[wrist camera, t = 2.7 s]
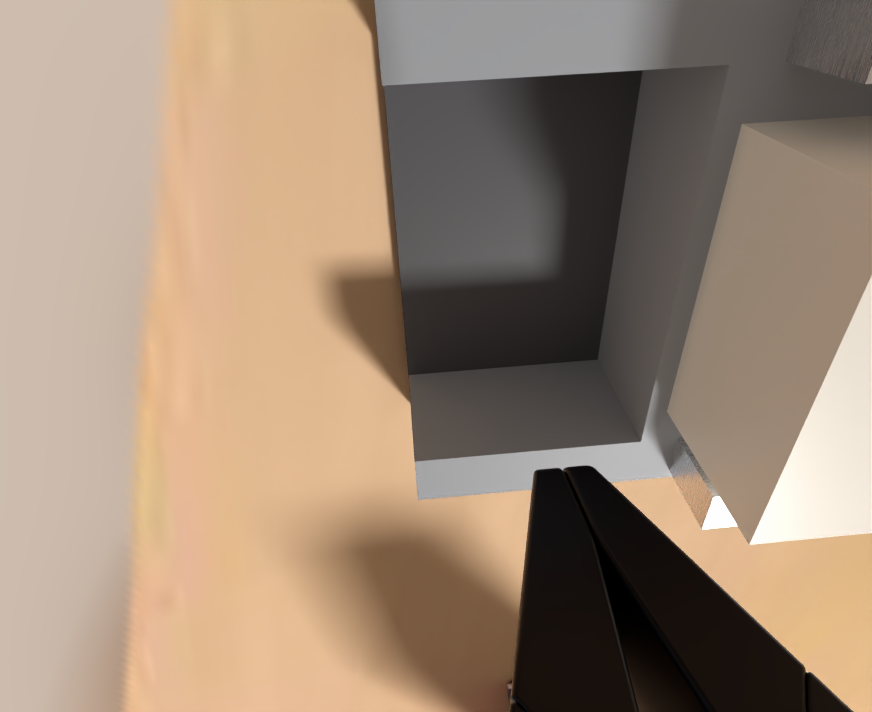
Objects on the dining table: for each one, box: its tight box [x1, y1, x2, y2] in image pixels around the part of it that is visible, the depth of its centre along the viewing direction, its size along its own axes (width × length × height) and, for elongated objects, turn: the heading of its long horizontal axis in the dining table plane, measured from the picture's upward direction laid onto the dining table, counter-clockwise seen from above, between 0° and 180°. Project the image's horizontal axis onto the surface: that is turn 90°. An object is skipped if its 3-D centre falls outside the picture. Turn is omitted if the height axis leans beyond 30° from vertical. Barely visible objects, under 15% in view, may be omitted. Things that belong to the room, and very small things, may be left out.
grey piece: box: [374, 0, 872, 500], centre depth 14 cm, size 22×12×4 cm, turn 92°
